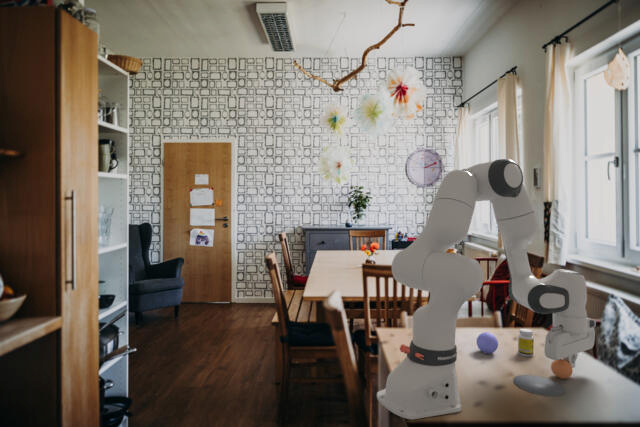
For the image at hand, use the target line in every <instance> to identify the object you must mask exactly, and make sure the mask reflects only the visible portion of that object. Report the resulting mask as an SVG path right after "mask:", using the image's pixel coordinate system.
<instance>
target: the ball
mask: <svg viewBox="0 0 640 427" xmlns="http://www.w3.org/2000/svg"><path fill="white" fill-rule="evenodd" d="M550 368H551V372H552V374H553V375H554V376H556V377H557V378H559V379H563V380H564V379H568V378H570V377H571V376H572V375H573V368H572V366H571V365H570V363H569V362H567V361H566V360H563V358H562V359H559V360H553V361H552V362H551V364H550Z"/></svg>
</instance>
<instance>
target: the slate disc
mask: <svg viewBox="0 0 640 427" xmlns="http://www.w3.org/2000/svg"><path fill="white" fill-rule="evenodd" d="M512 381H513V383H514V385H515V386H516V387H518V388H519V389H521V390H523V391H526V392H528V393H530V394H535V395H539V396H545V397H558V396H563V395H564V394H565V393H566V390H565V387H564V386H563V385H562V384H561V383H559V382H557V381H555V380H553V379H550V378H547V377H544V376H540V375H534V374H519V375H517V376H515V377H513V379H512Z"/></svg>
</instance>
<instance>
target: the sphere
mask: <svg viewBox="0 0 640 427" xmlns="http://www.w3.org/2000/svg"><path fill="white" fill-rule="evenodd" d="M475 343H476V346H477V347H478V350H480V351H481V353H485V354H492V353H493V354H494V353H495V352H496V351H497V350H498V348H499V342H498V338H497V337H496V336H495V335H494V334H492V333H491V332H482V333H480V334H479V335H478V336H477V338H476V342H475Z"/></svg>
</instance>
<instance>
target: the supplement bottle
mask: <svg viewBox="0 0 640 427" xmlns="http://www.w3.org/2000/svg"><path fill="white" fill-rule="evenodd" d="M533 335H534V334H533V330H532V329H529V328H520V329H519V335H518V338H517V341H518V342H517V353H518V355H521V356H524V357H532V356H534V336H533Z"/></svg>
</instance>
